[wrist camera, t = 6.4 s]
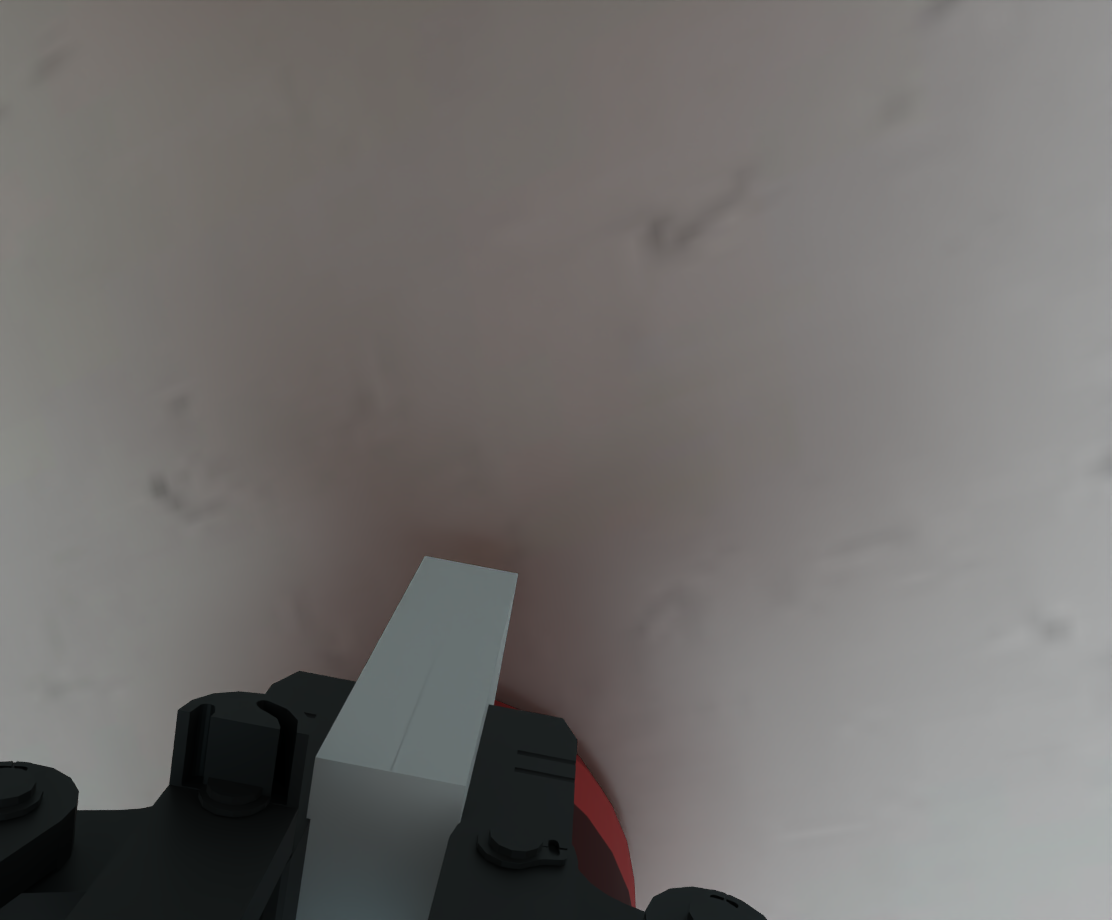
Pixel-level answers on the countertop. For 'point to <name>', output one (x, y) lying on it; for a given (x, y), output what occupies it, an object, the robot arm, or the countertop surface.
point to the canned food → (599, 837)
